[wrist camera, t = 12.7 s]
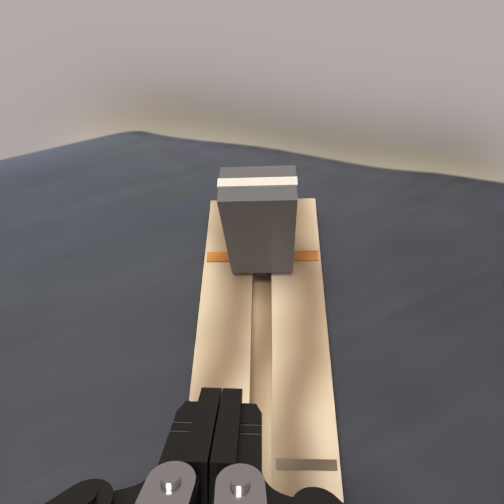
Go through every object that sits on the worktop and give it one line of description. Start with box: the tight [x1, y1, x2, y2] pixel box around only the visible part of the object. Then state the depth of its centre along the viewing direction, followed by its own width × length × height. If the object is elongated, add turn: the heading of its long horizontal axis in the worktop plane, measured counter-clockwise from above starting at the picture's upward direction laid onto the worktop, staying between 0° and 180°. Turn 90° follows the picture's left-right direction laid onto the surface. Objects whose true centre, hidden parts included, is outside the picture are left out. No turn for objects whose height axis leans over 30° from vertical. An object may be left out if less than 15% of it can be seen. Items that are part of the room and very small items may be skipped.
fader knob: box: [217, 165, 298, 277], centre depth 28 cm, size 5×3×11 cm, turn 89°
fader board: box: [189, 198, 344, 503], centre depth 29 cm, size 10×26×2 cm, turn 179°
